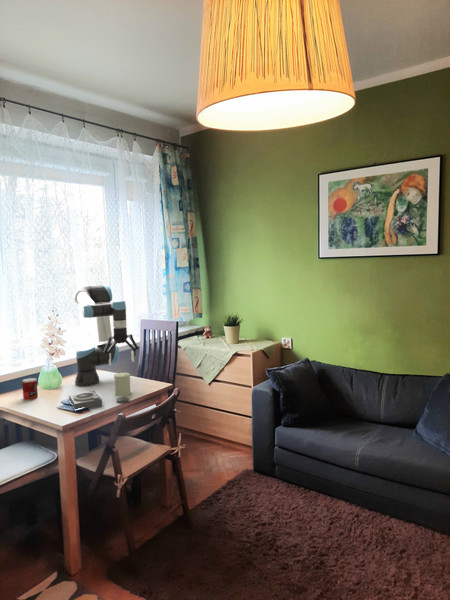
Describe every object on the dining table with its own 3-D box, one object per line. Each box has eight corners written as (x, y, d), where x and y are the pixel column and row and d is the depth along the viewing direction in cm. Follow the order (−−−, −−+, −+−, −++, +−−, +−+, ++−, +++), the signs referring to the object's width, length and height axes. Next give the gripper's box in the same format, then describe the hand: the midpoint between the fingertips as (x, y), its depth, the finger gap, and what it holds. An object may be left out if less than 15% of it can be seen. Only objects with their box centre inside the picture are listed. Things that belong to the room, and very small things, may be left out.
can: (126, 396, 248) (125, 376, 247) (112, 395, 250) (111, 375, 249) (133, 391, 257) (132, 372, 256) (119, 391, 259) (118, 371, 258)
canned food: (31, 400, 245) (29, 381, 244) (20, 399, 248) (18, 380, 247) (41, 396, 253) (39, 378, 252) (30, 395, 255) (29, 377, 254)
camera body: (69, 402, 241) (68, 393, 240) (94, 397, 248) (94, 389, 247) (75, 411, 225) (74, 401, 225) (102, 406, 232) (101, 397, 232)
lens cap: (115, 401, 241) (114, 398, 241) (127, 399, 244) (127, 396, 244) (118, 404, 235) (118, 401, 235) (131, 402, 238) (130, 399, 238)
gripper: (99, 330, 240) (101, 367, 242) (142, 325, 253) (144, 361, 255) (96, 328, 247) (98, 364, 249) (138, 324, 259) (140, 358, 261)
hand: (121, 363), depth 252 cm, fingers open, 13 cm apart
